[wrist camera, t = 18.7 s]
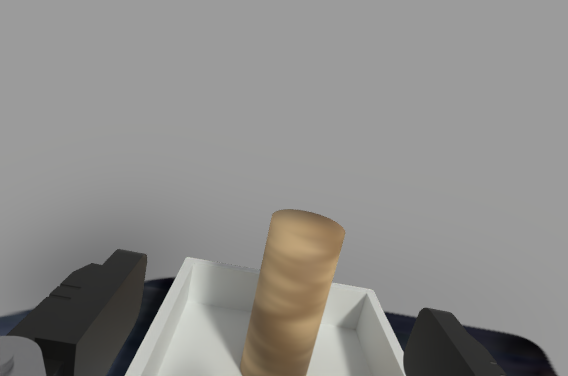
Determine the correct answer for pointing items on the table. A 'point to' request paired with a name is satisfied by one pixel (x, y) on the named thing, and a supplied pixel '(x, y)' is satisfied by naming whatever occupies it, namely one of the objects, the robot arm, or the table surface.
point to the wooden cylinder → (291, 293)
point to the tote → (235, 320)
